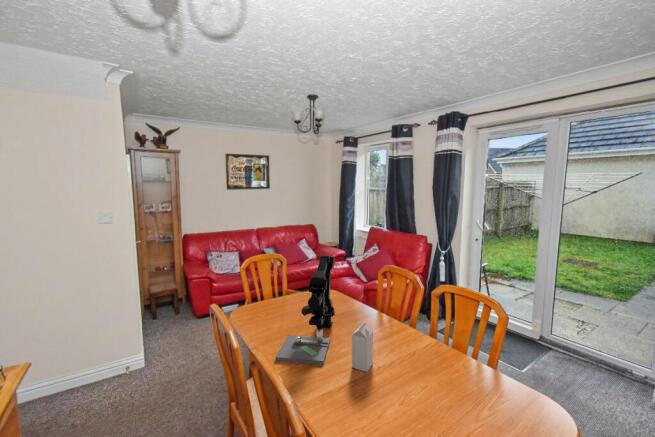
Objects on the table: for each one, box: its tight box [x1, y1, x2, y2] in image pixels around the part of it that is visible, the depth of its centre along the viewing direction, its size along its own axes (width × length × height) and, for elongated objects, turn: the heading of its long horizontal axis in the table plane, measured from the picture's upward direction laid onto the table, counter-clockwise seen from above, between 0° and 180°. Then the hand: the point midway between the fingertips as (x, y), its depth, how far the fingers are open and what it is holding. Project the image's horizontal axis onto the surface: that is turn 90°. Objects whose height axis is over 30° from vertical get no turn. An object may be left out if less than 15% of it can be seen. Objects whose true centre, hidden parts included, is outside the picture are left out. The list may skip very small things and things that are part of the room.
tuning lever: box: [293, 328, 328, 345], centre depth 146 cm, size 17×4×7 cm, turn 81°
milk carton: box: [351, 320, 374, 373], centre depth 130 cm, size 7×7×19 cm
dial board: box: [274, 335, 331, 366], centre depth 144 cm, size 20×22×2 cm
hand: (319, 330), depth 151 cm, fingers closed
